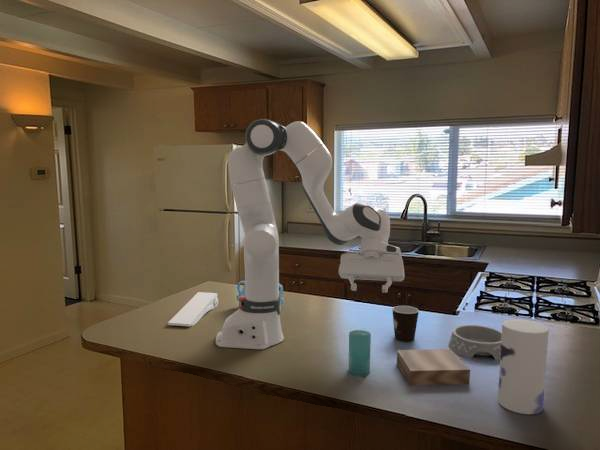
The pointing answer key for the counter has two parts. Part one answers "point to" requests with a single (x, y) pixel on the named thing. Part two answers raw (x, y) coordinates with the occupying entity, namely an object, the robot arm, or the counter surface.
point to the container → (522, 366)
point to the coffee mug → (405, 322)
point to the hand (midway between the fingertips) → (368, 290)
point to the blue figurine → (244, 291)
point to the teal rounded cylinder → (359, 352)
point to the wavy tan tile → (432, 367)
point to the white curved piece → (195, 309)
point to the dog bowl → (476, 341)
